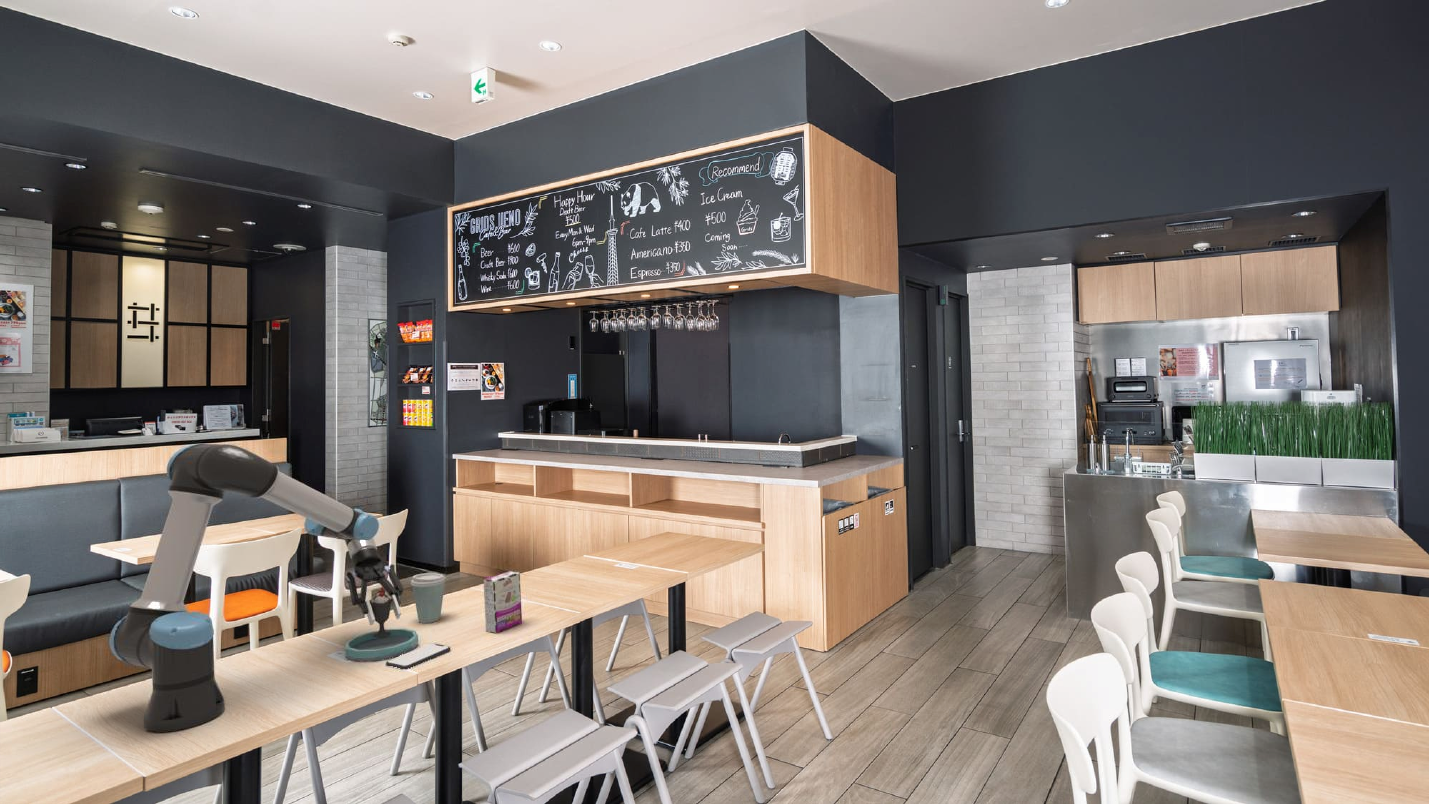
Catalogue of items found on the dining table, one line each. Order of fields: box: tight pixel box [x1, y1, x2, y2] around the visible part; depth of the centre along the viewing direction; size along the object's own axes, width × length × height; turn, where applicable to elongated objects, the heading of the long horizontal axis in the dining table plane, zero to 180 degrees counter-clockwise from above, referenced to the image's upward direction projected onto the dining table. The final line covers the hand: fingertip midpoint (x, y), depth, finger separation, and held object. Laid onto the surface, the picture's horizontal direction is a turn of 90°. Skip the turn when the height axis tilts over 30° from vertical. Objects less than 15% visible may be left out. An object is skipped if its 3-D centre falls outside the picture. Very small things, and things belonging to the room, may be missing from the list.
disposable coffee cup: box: [410, 572, 446, 624], centre depth 238 cm, size 11×11×15 cm
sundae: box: [369, 585, 394, 638], centre depth 212 cm, size 7×7×15 cm
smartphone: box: [385, 642, 451, 670], centre depth 204 cm, size 9×2×16 cm
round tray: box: [344, 628, 419, 662], centre depth 212 cm, size 19×19×3 cm
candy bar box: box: [483, 570, 523, 634], centre depth 229 cm, size 11×5×16 cm, turn 150°
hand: (385, 619), depth 209 cm, fingers closed on sundae, 7 cm apart
